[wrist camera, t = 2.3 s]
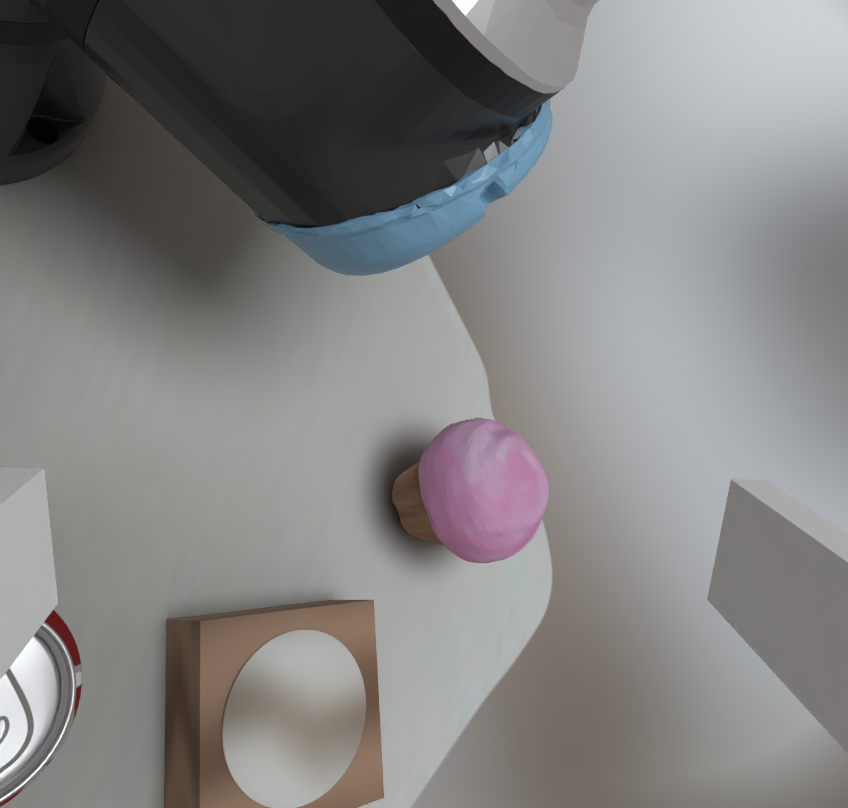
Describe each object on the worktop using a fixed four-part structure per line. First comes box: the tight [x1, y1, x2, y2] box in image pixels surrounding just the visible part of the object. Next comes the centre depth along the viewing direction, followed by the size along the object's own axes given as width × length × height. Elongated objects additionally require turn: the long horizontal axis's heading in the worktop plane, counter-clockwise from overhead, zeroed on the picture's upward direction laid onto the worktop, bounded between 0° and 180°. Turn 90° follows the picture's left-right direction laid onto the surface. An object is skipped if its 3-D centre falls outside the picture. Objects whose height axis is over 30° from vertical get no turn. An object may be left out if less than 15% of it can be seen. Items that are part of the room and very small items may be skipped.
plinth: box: [164, 600, 384, 808], centre depth 34 cm, size 10×10×4 cm
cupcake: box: [392, 418, 549, 563], centre depth 42 cm, size 9×9×10 cm
